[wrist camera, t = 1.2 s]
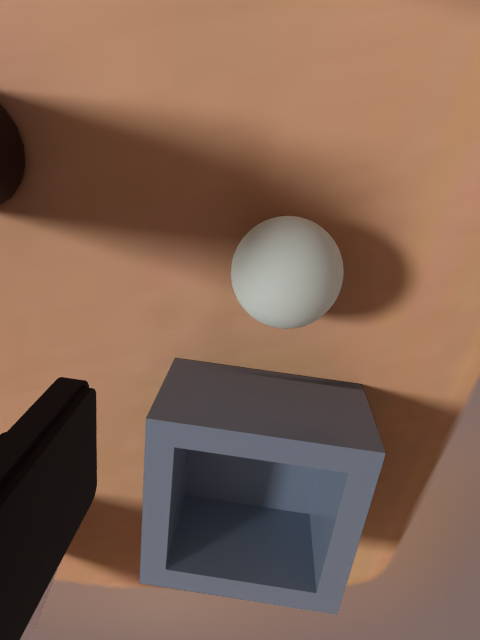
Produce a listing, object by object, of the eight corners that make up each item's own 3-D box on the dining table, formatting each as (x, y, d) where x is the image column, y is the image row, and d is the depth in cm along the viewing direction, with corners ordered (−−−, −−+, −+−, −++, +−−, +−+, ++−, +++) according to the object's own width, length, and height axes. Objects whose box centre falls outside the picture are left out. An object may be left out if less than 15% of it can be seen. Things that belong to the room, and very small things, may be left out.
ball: (242, 202, 25) (232, 218, 20) (345, 215, 25) (364, 235, 20) (230, 299, 28) (219, 338, 22) (325, 312, 27) (337, 355, 22)
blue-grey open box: (174, 358, 29) (145, 418, 23) (361, 384, 29) (385, 453, 23) (165, 500, 34) (139, 583, 28) (326, 524, 34) (337, 614, 27)
